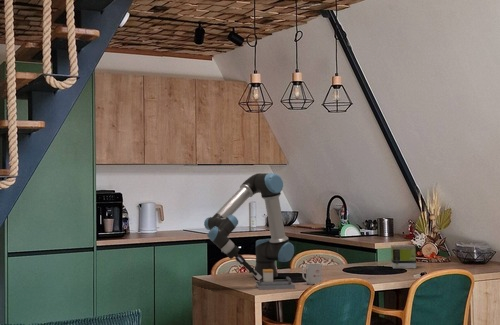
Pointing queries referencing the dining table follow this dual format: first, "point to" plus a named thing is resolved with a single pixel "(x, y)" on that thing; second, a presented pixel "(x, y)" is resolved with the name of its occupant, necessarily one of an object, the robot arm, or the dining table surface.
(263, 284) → the grey tray
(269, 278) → the grey orange-topped container
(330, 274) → the dining table surface
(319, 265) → the mug
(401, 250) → the tea box
